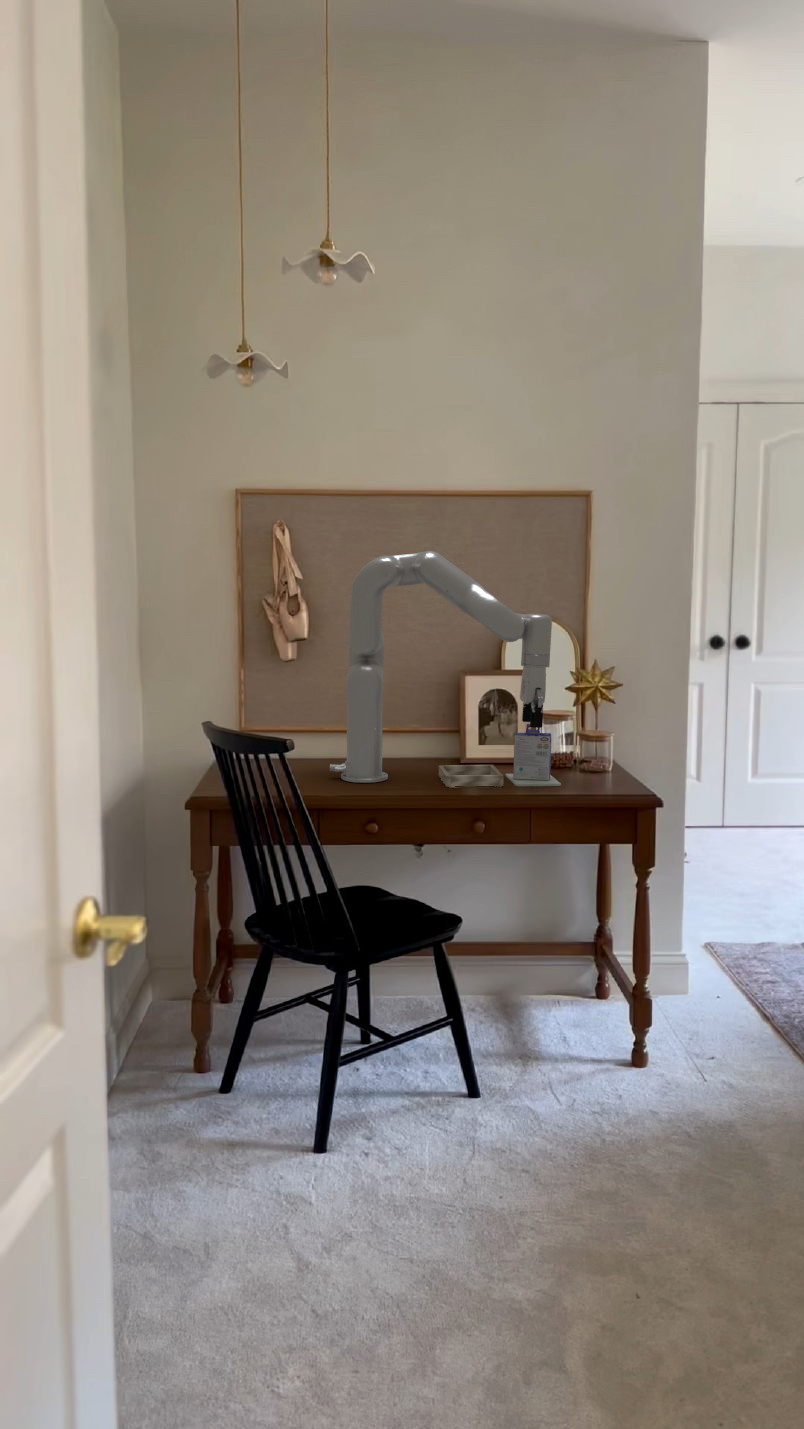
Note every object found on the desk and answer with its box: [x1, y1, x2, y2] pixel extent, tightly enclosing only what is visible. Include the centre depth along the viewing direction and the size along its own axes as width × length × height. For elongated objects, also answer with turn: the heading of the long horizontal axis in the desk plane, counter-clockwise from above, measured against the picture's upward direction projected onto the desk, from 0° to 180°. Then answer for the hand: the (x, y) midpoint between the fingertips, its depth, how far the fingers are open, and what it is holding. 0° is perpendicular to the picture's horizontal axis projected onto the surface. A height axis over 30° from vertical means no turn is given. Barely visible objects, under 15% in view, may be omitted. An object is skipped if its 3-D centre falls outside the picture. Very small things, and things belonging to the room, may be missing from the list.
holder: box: [438, 764, 504, 788], centre depth 293 cm, size 15×15×3 cm
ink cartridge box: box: [512, 723, 552, 780], centre depth 294 cm, size 10×6×14 cm, turn 82°
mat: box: [505, 773, 562, 787], centre depth 295 cm, size 12×14×1 cm
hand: (532, 724), depth 293 cm, fingers open, 9 cm apart
